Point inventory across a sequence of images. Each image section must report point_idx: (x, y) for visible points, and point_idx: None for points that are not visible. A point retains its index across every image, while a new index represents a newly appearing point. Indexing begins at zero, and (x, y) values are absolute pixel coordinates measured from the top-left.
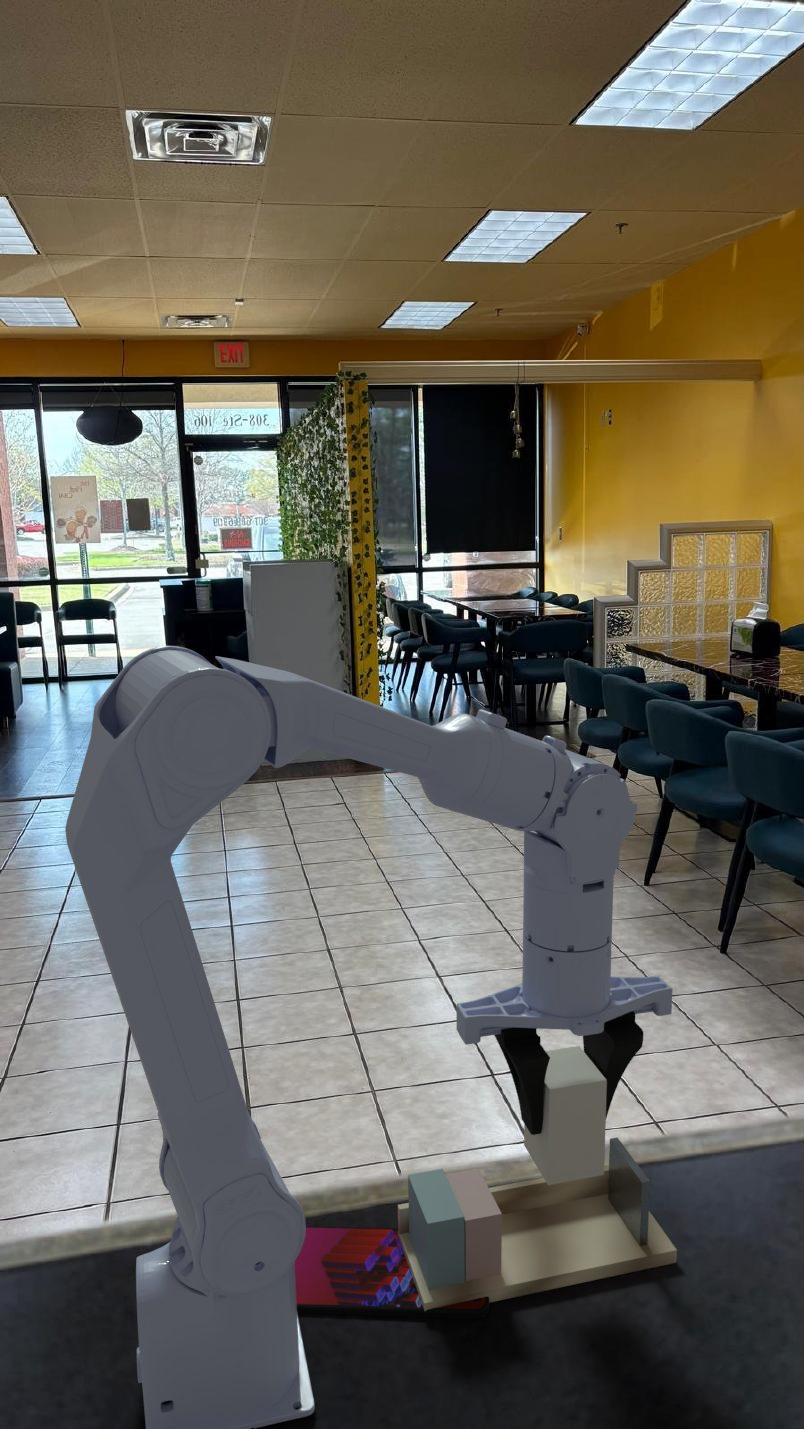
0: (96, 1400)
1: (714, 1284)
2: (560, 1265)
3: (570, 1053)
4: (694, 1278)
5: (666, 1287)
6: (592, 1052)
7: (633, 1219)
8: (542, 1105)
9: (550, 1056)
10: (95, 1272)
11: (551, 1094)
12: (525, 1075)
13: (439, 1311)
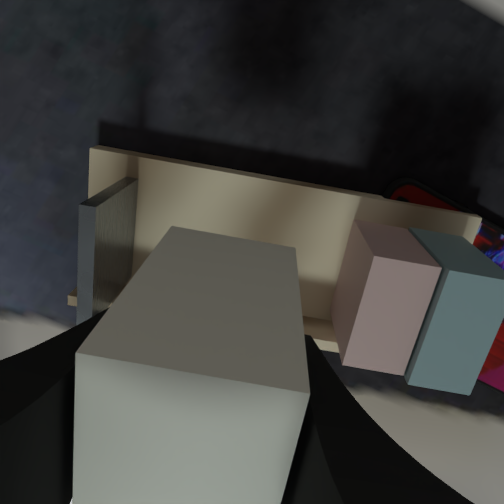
0: None
1: (68, 85)
2: (267, 196)
3: None
4: (89, 108)
5: (137, 111)
6: (52, 487)
7: (127, 207)
8: None
9: None
10: None
11: (299, 378)
12: (420, 475)
13: (458, 205)
